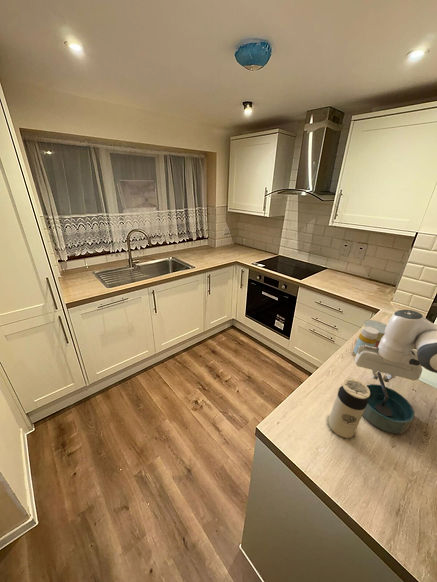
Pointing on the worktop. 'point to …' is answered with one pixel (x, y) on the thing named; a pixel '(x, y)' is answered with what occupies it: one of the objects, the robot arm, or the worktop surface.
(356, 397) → the travel mug
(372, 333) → the bottle
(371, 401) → the bowl
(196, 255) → the worktop surface
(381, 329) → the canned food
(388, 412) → the ladle
